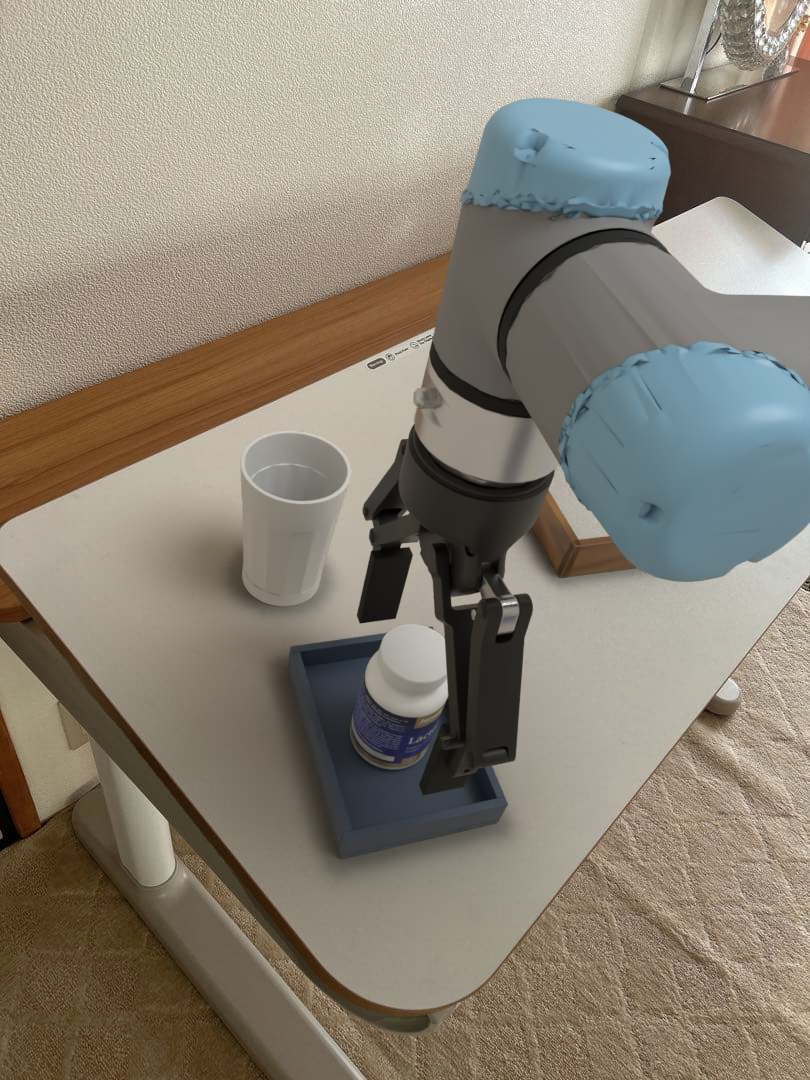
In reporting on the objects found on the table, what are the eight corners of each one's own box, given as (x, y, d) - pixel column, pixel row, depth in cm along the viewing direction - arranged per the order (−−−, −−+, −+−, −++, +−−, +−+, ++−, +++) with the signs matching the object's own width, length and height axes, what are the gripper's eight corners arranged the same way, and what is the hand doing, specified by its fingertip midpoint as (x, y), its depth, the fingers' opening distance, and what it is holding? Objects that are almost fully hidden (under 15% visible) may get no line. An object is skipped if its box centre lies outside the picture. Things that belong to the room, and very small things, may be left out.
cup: (265, 527, 75) (278, 416, 67) (347, 568, 74) (370, 459, 66) (211, 585, 70) (218, 471, 62) (298, 630, 68) (316, 520, 60)
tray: (498, 822, 60) (508, 804, 58) (340, 859, 56) (346, 840, 54) (425, 646, 70) (432, 625, 68) (286, 667, 66) (290, 646, 64)
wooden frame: (686, 561, 83) (704, 531, 80) (560, 578, 78) (574, 546, 75) (602, 440, 94) (615, 410, 91) (486, 448, 89) (497, 417, 86)
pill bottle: (412, 786, 60) (444, 703, 53) (335, 752, 61) (357, 666, 54) (439, 722, 64) (472, 637, 57) (367, 690, 65) (391, 603, 58)
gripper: (344, 308, 50) (305, 565, 65) (516, 649, 34) (413, 889, 49) (464, 308, 53) (400, 554, 68) (676, 624, 37) (533, 858, 52)
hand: (406, 695), depth 58 cm, fingers open, 13 cm apart
